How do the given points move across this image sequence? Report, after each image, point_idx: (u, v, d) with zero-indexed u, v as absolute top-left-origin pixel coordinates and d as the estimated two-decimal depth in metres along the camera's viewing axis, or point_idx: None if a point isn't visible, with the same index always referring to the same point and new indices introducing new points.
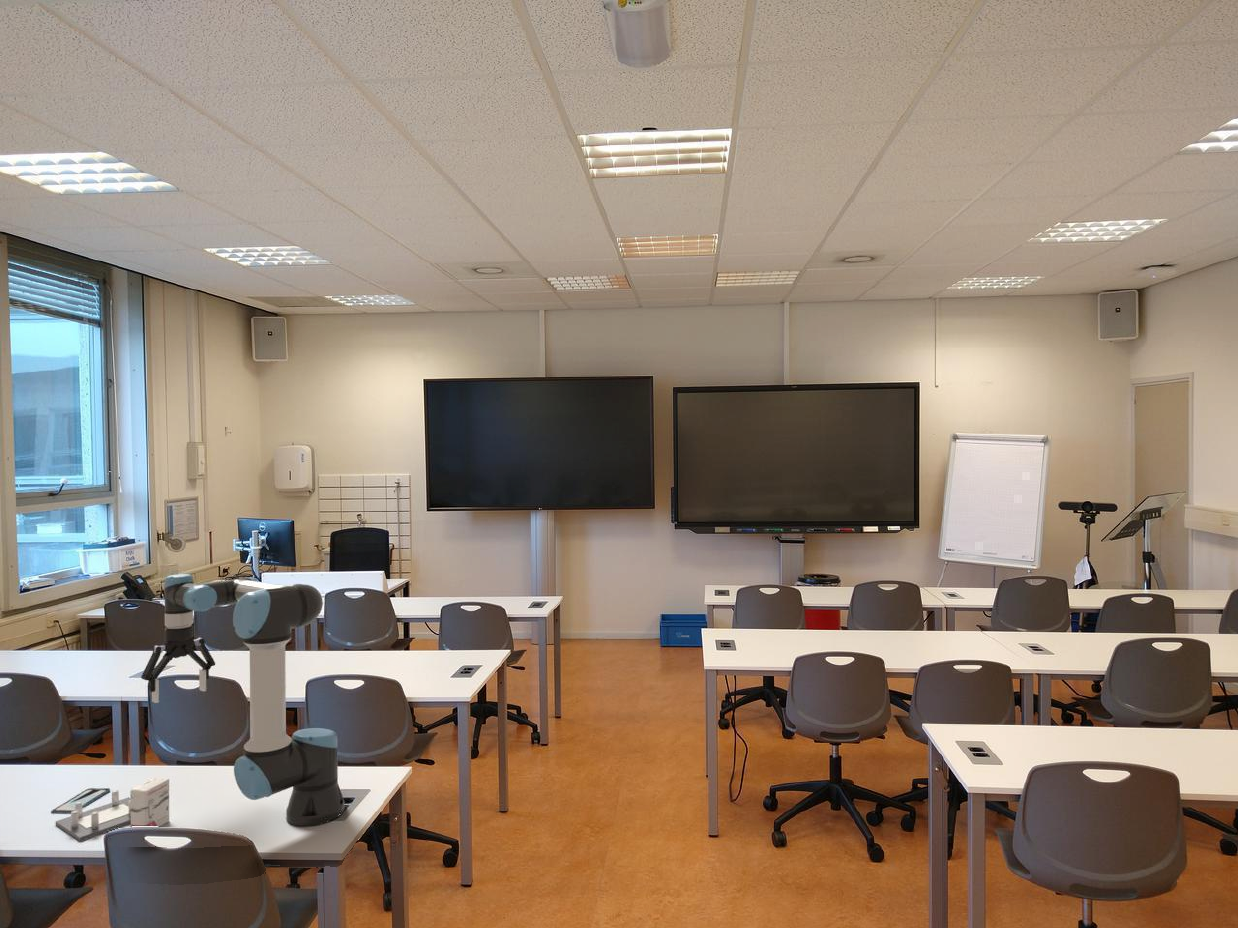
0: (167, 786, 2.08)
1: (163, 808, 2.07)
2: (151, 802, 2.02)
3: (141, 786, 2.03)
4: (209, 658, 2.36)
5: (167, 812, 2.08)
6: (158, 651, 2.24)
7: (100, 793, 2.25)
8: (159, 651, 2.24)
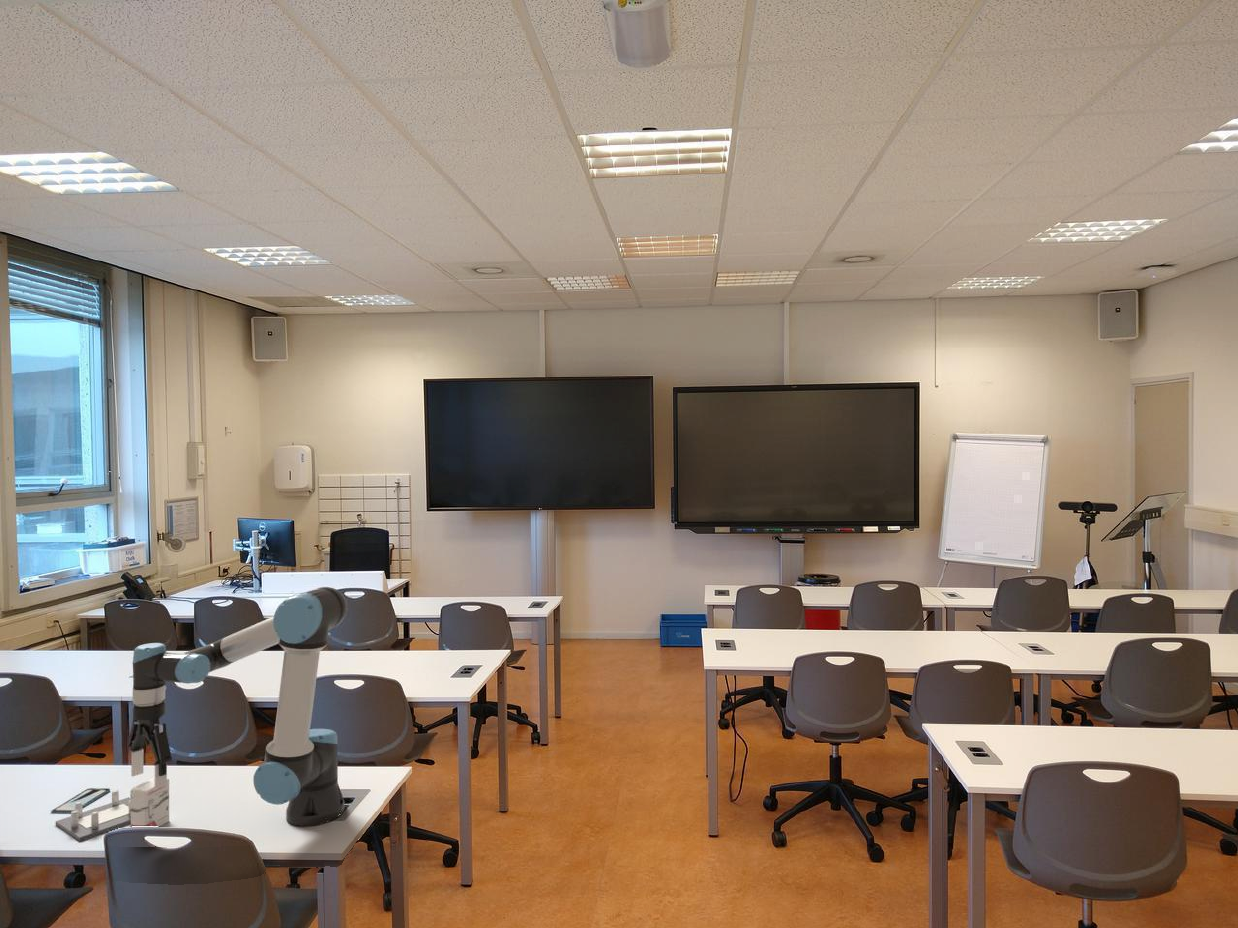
0: (167, 786, 2.08)
1: (163, 808, 2.07)
2: (151, 802, 2.02)
3: (141, 786, 2.03)
4: (158, 752, 1.99)
5: (167, 812, 2.08)
6: (133, 721, 2.08)
7: (100, 793, 2.25)
8: (133, 722, 2.08)
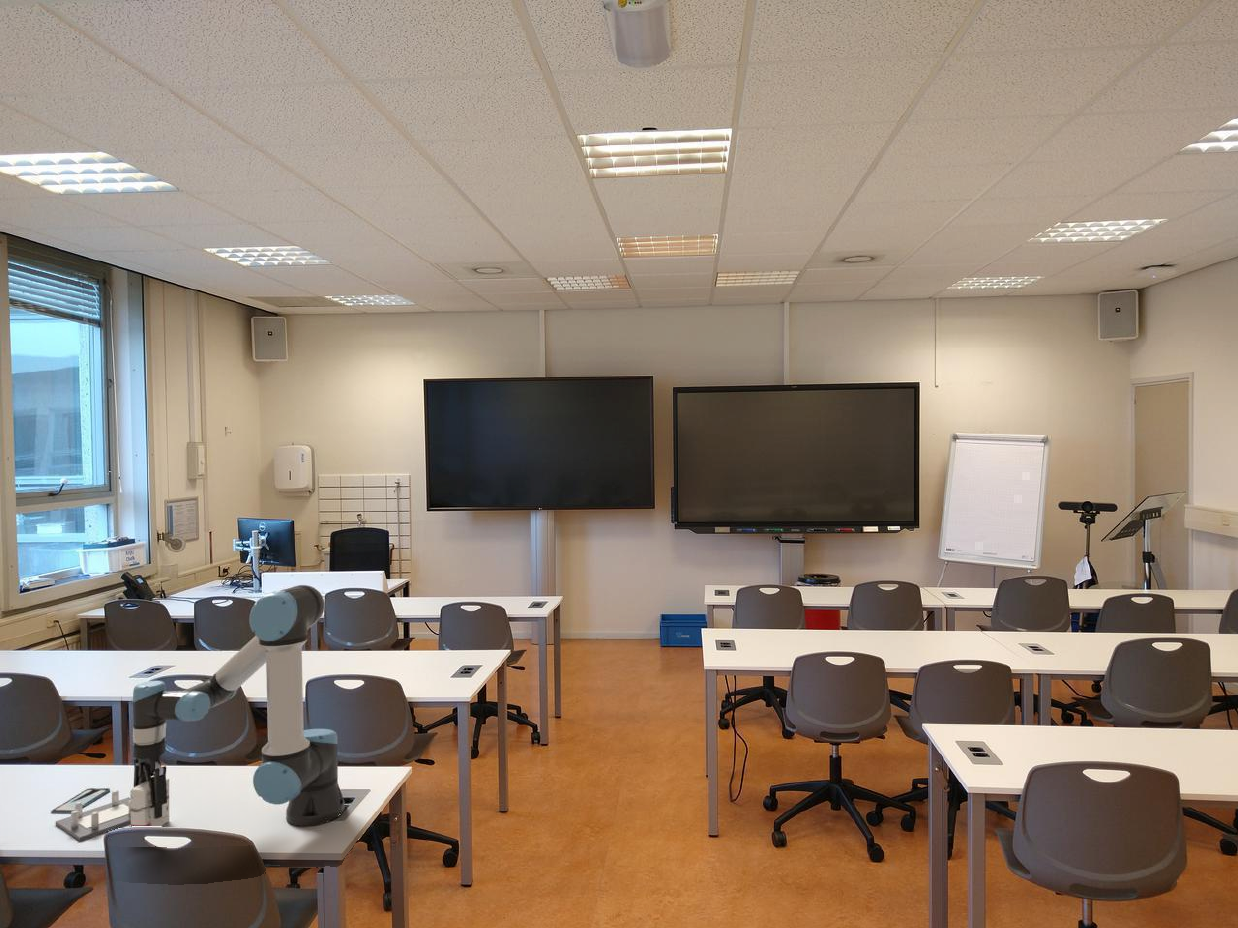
0: (167, 786, 2.08)
1: (163, 808, 2.07)
2: (151, 802, 2.02)
3: (141, 786, 2.03)
4: (155, 795, 2.01)
5: (167, 812, 2.08)
6: (134, 764, 2.07)
7: (100, 793, 2.25)
8: (135, 764, 2.07)
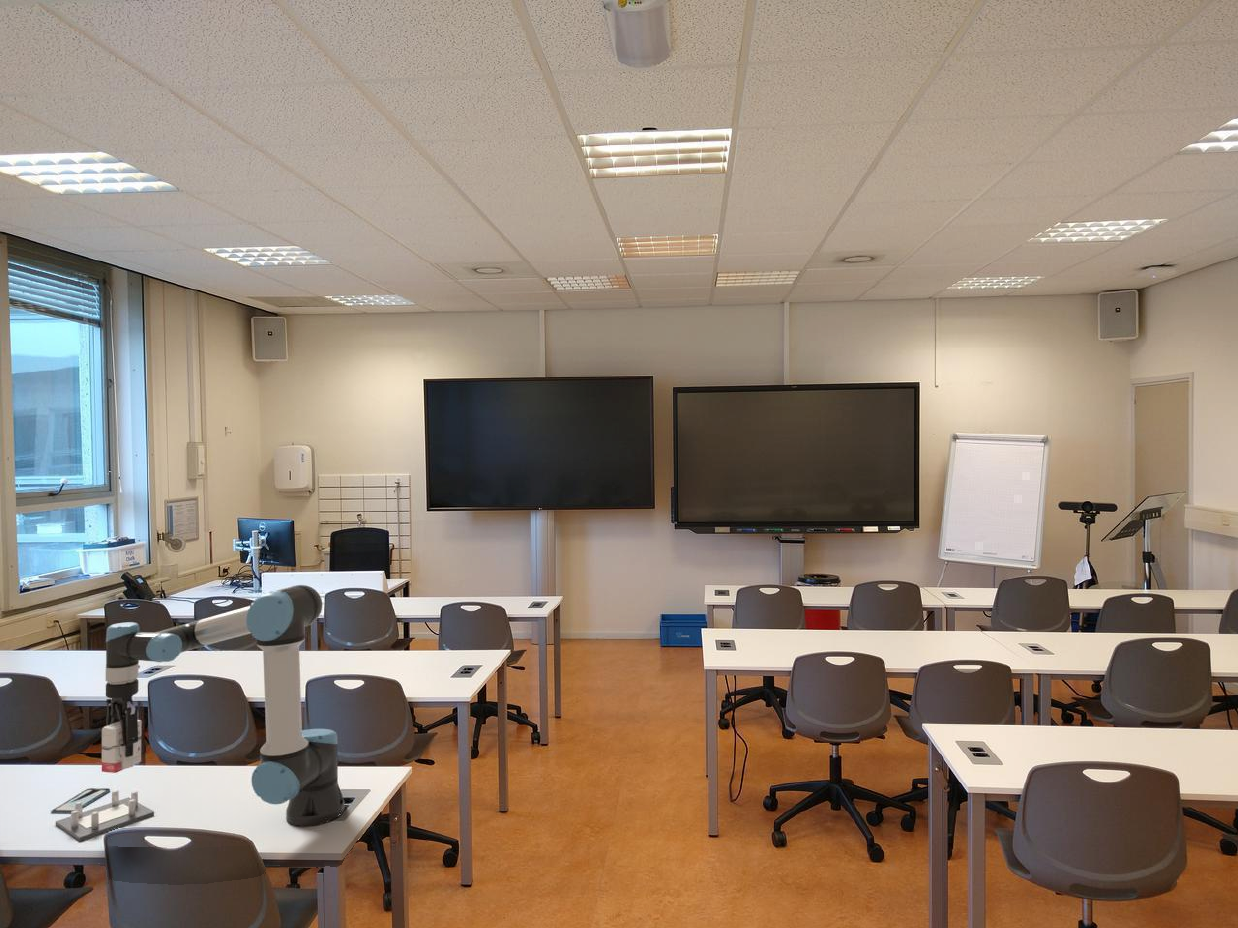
0: (139, 727, 2.10)
1: (135, 748, 2.09)
2: (122, 741, 2.05)
3: (113, 725, 2.06)
4: (126, 733, 2.03)
5: (139, 753, 2.10)
6: (107, 704, 2.10)
7: (100, 793, 2.25)
8: (107, 704, 2.10)
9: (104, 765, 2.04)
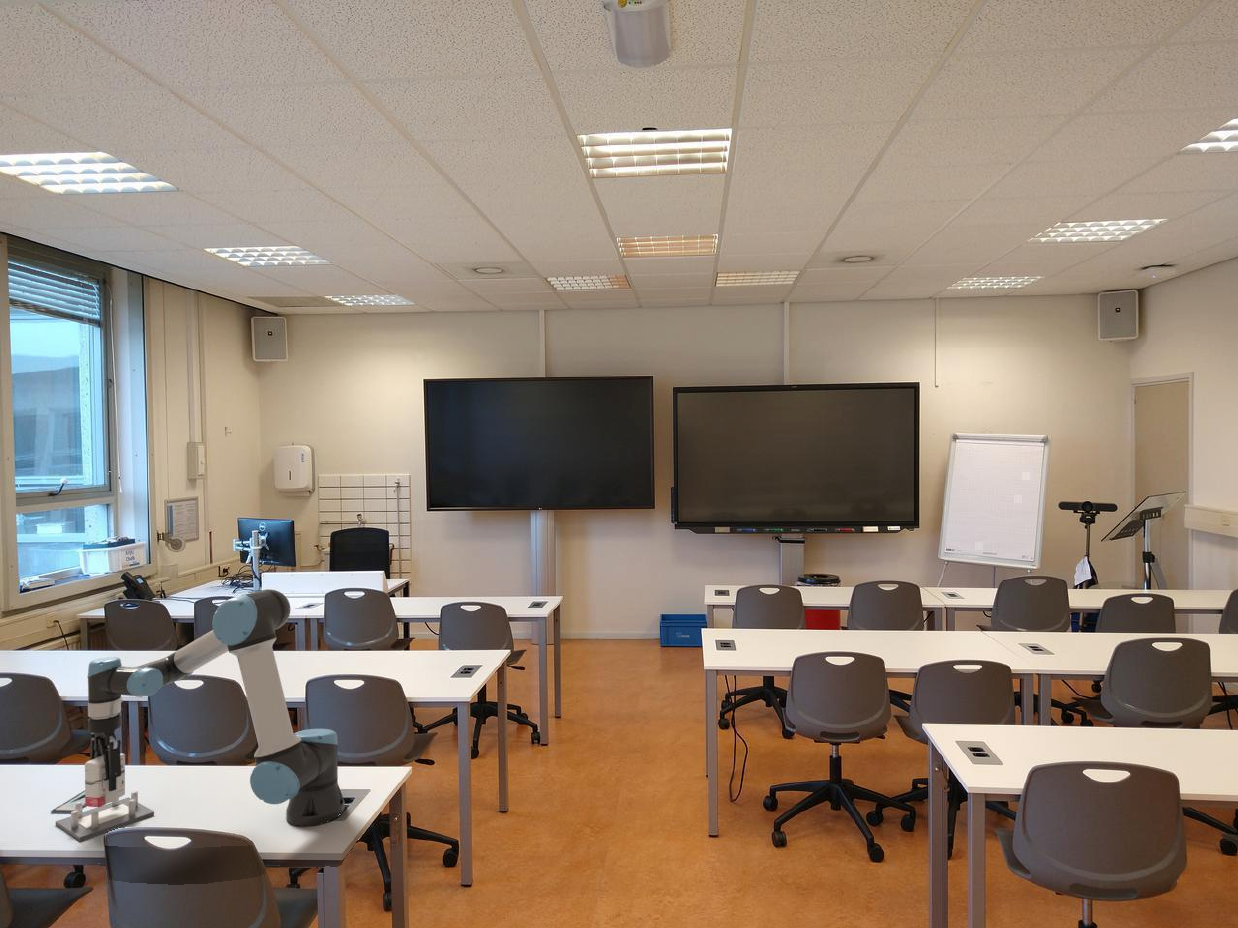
0: (123, 760, 2.12)
1: (118, 782, 2.11)
2: (105, 775, 2.07)
3: (96, 760, 2.08)
4: (109, 768, 2.05)
5: (123, 786, 2.12)
6: (90, 738, 2.12)
7: None
8: (91, 738, 2.12)
9: (88, 800, 2.06)
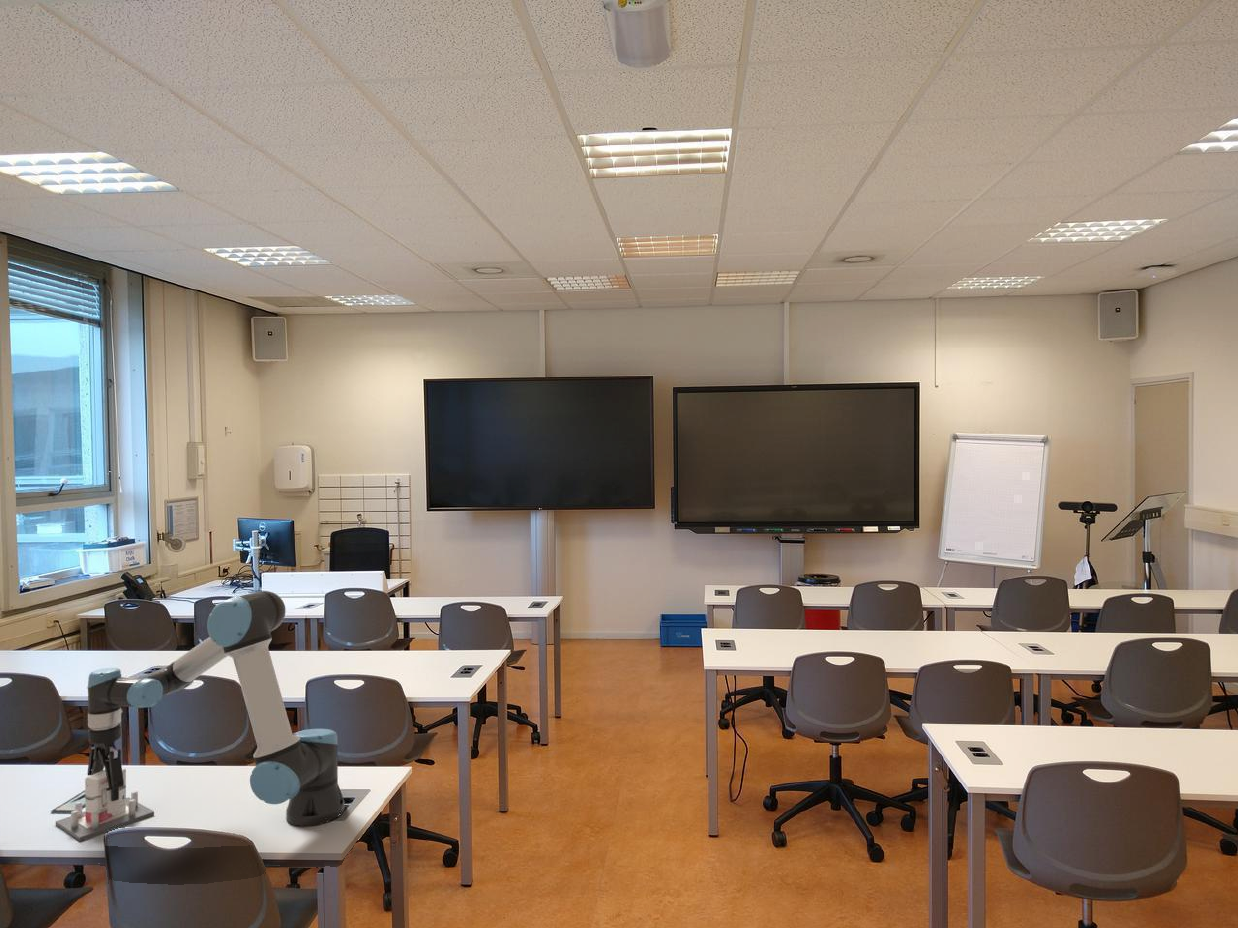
0: (123, 776, 2.12)
1: None
2: (105, 791, 2.07)
3: (96, 775, 2.08)
4: (111, 778, 2.05)
5: (123, 802, 2.12)
6: (90, 747, 2.12)
7: None
8: (90, 747, 2.12)
9: (88, 815, 2.06)
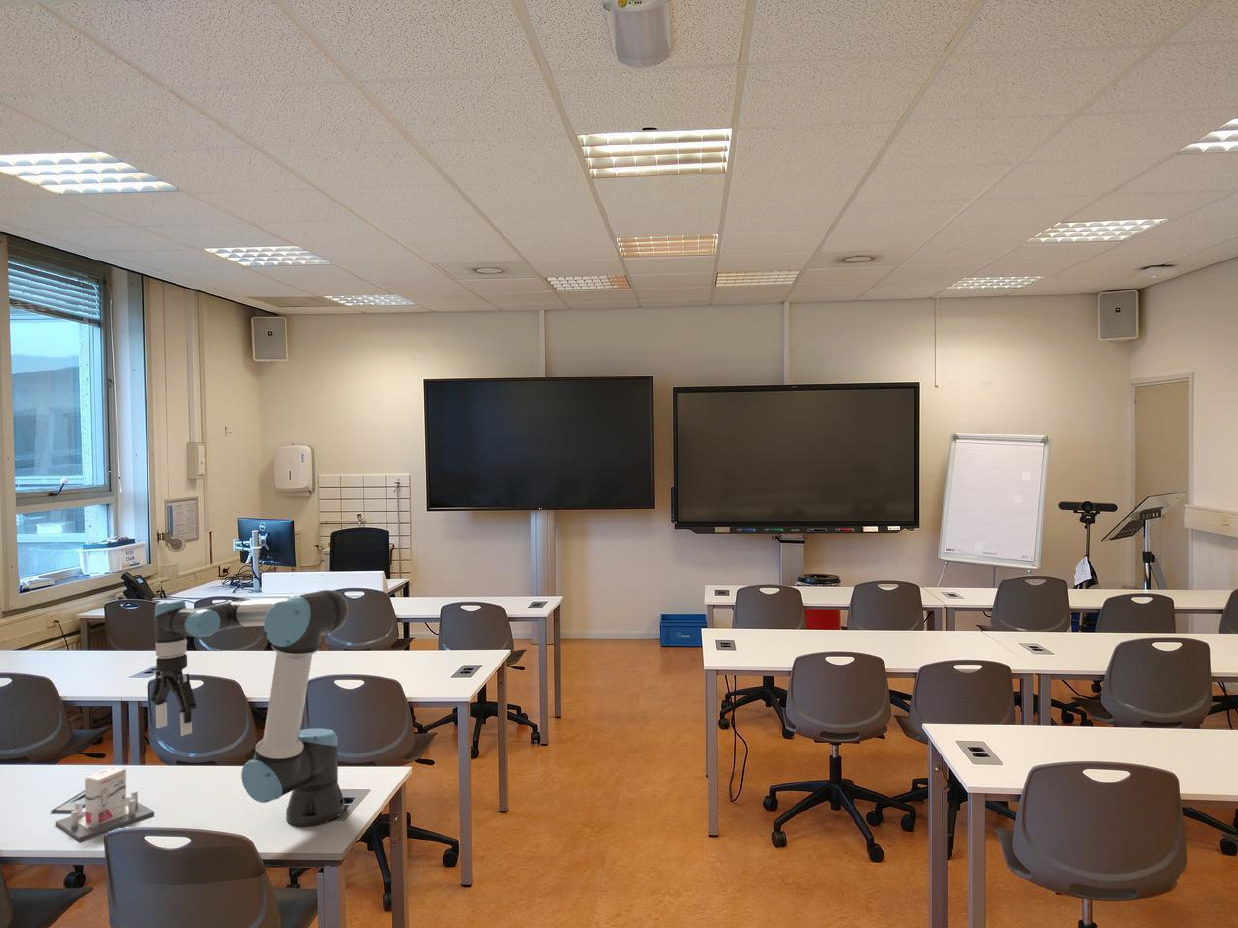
0: (123, 776, 2.12)
1: (119, 797, 2.11)
2: (104, 791, 2.07)
3: (96, 775, 2.08)
4: (183, 700, 2.10)
5: (123, 802, 2.12)
6: (156, 676, 2.18)
7: None
8: (156, 676, 2.18)
9: (88, 815, 2.06)
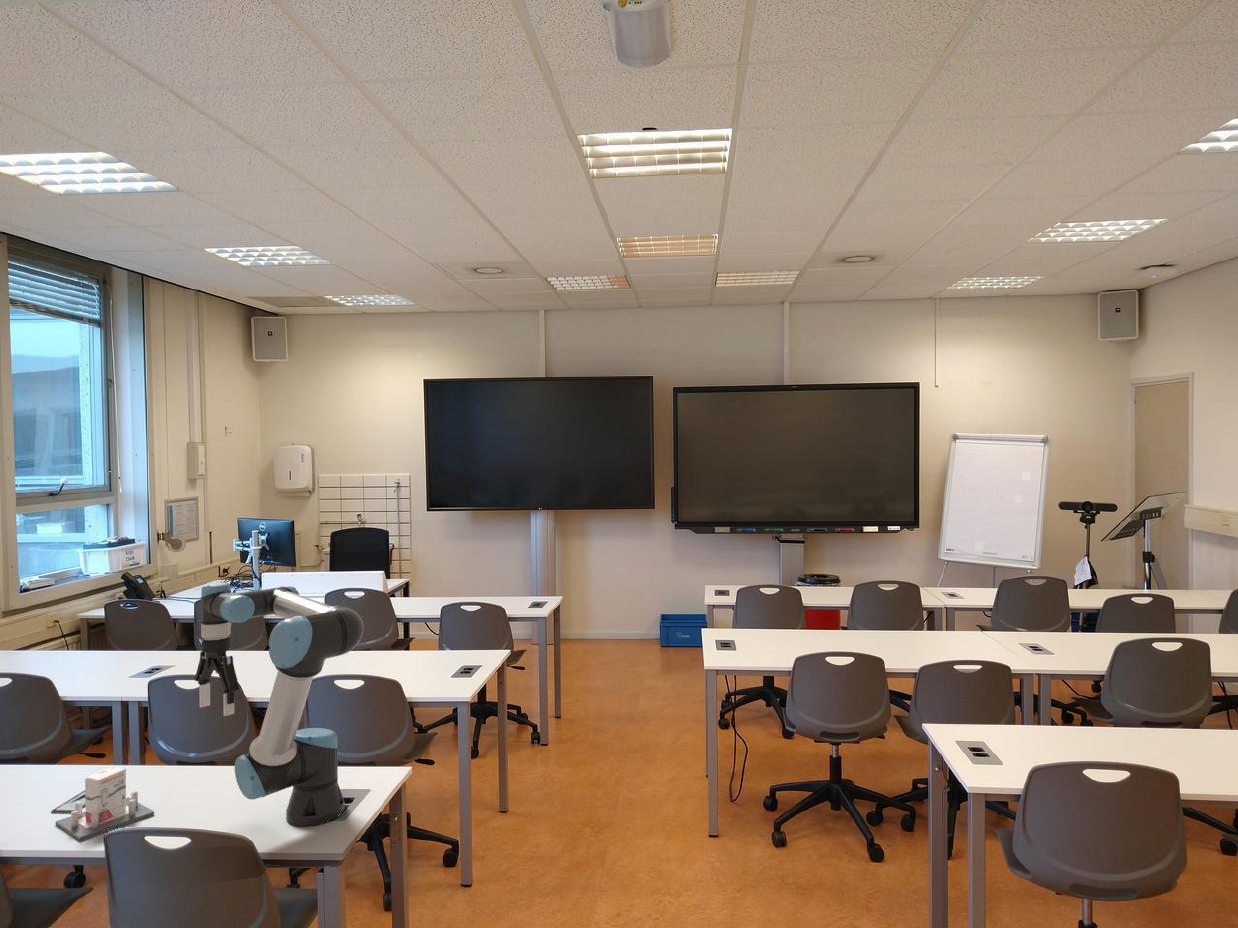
0: (123, 776, 2.12)
1: (119, 797, 2.11)
2: (104, 791, 2.07)
3: (96, 775, 2.08)
4: (227, 682, 2.14)
5: (123, 802, 2.12)
6: (200, 656, 2.22)
7: None
8: (201, 656, 2.22)
9: (88, 815, 2.06)
